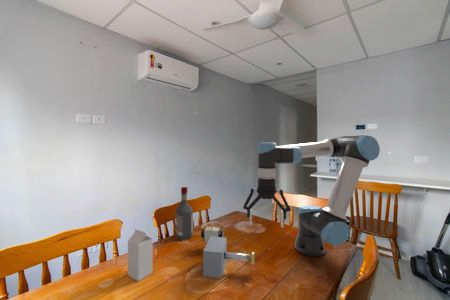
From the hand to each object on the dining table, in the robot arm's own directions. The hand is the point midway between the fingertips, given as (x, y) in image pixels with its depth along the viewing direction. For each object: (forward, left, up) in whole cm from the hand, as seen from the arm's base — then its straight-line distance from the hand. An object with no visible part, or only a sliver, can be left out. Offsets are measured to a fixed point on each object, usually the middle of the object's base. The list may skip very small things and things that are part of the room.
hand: (266, 225), depth 91 cm
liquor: (+48, -27, -21) cm, 59 cm away
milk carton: (+54, +11, -21) cm, 58 cm away
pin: (+13, +1, -17) cm, 21 cm away
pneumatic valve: (+28, -16, -21) cm, 38 cm away
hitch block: (+23, +1, -21) cm, 31 cm away
